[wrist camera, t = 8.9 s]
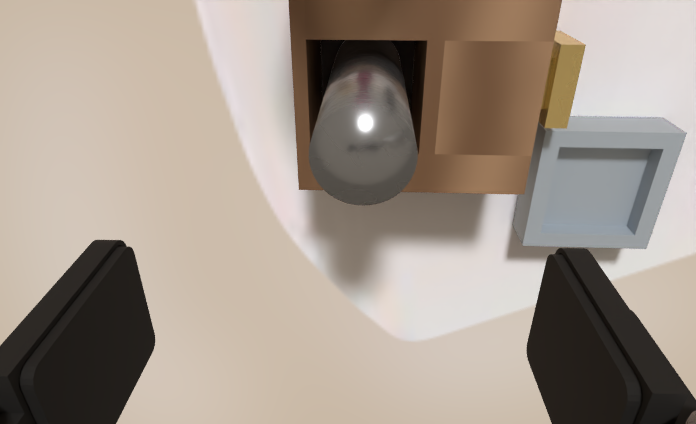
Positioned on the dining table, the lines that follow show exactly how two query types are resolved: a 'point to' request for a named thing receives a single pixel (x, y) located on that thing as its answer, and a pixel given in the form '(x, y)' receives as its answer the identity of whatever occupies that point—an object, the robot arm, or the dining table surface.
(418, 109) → the socket block
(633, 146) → the grey square tray
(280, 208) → the dining table surface
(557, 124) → the tan wooden t-shaped piece
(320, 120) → the grey cylinder
